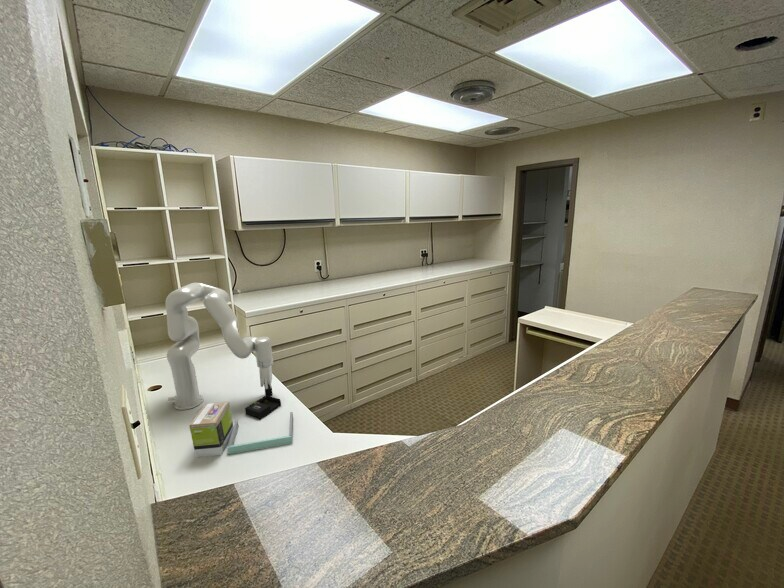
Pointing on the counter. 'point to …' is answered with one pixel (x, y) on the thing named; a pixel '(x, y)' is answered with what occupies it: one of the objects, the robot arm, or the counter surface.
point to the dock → (258, 444)
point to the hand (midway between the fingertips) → (269, 395)
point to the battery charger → (262, 407)
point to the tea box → (211, 429)
